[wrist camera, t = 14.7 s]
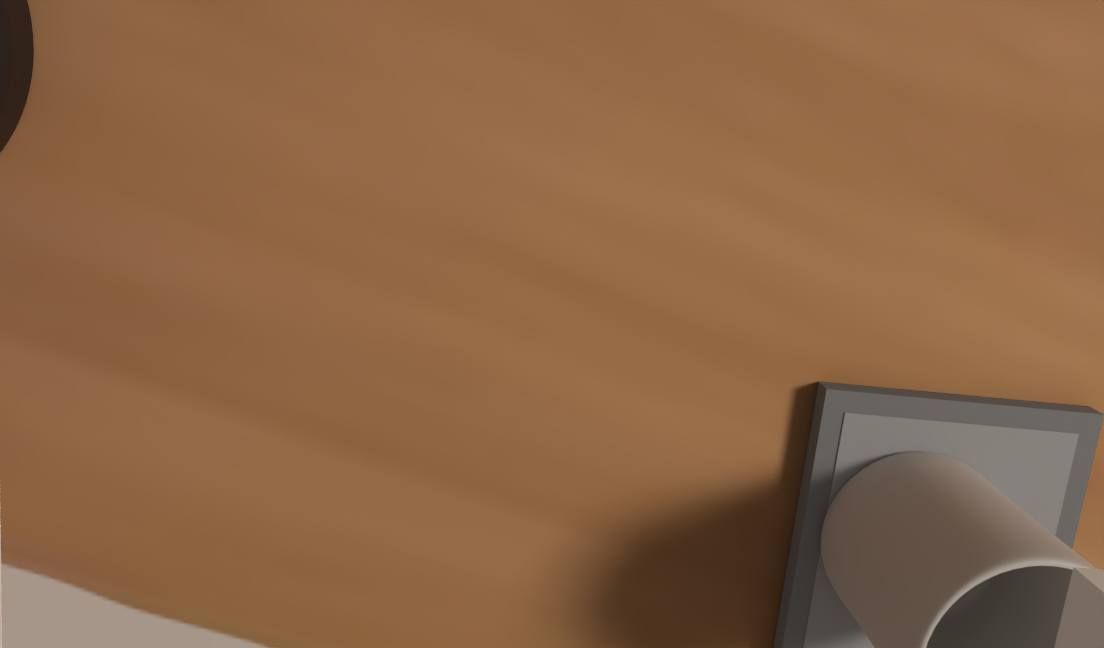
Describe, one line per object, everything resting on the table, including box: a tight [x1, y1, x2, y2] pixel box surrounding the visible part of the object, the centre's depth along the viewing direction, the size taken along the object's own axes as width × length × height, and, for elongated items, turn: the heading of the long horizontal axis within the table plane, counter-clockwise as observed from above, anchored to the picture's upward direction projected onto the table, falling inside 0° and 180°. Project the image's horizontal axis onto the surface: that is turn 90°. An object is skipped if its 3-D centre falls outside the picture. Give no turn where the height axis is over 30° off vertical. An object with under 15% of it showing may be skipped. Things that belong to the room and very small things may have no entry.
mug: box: [821, 451, 1096, 648], centre depth 42 cm, size 12×8×11 cm
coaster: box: [773, 382, 1104, 648], centre depth 48 cm, size 13×14×1 cm
